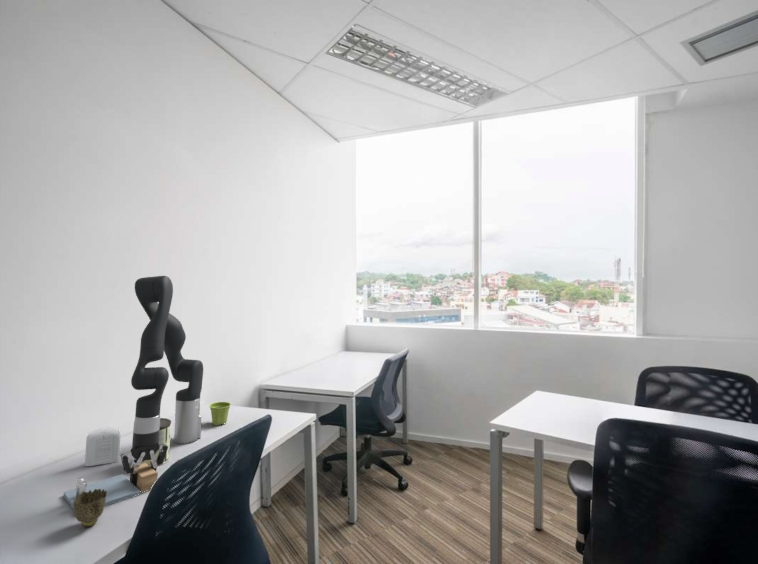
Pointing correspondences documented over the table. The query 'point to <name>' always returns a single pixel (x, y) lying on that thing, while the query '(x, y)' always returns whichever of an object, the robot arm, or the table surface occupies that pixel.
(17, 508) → the table surface
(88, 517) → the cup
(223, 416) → the plant pot
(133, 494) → the base board
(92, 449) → the photo printer
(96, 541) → the table surface
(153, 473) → the flange bar
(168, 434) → the coffee can
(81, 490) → the dowel pins
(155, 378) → the robot arm
